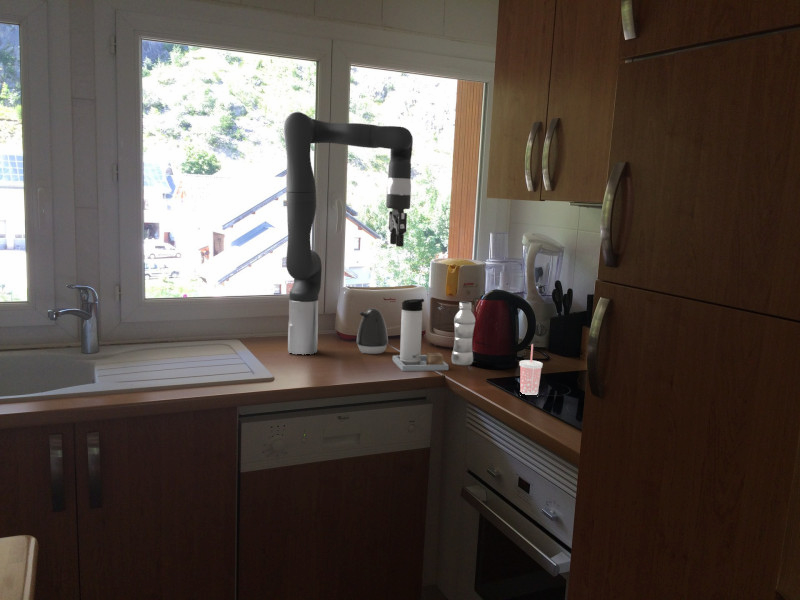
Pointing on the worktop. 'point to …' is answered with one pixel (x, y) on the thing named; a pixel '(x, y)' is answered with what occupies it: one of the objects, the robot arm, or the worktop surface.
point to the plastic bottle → (463, 335)
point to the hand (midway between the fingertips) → (396, 245)
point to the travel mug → (411, 331)
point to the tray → (421, 366)
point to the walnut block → (434, 359)
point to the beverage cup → (530, 375)
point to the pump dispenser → (372, 332)
